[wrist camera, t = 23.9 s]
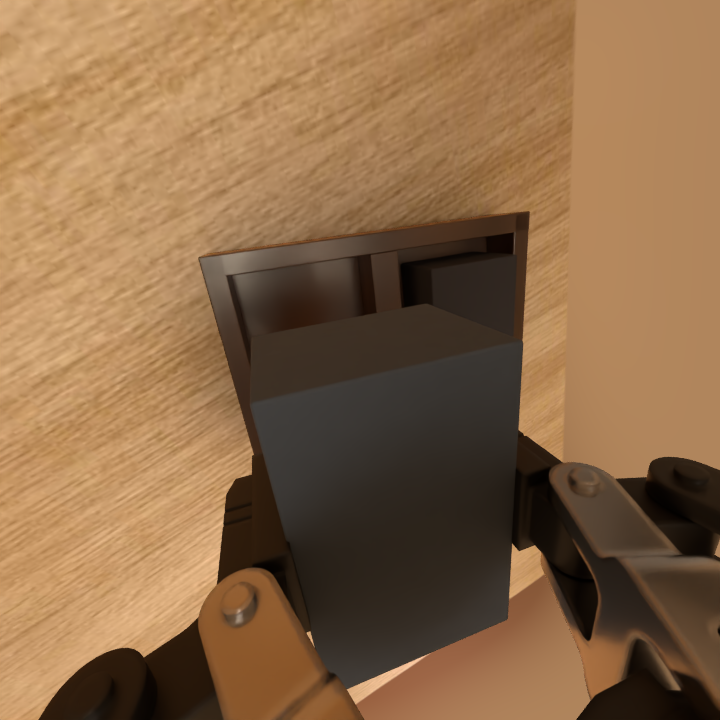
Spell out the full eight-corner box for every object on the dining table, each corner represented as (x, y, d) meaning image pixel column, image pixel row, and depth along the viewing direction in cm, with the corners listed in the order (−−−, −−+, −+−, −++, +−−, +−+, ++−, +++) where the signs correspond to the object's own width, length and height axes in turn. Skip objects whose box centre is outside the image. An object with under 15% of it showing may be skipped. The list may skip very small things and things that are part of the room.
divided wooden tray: (491, 214, 22) (530, 211, 19) (488, 381, 27) (519, 401, 24) (207, 253, 19) (197, 257, 15) (258, 440, 23) (259, 473, 20)
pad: (427, 302, 10) (525, 340, 6) (437, 513, 13) (508, 620, 9) (250, 336, 9) (248, 404, 5) (305, 557, 12) (328, 698, 8)
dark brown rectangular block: (474, 251, 22) (517, 254, 18) (474, 367, 25) (511, 389, 21) (400, 263, 21) (431, 269, 17) (409, 383, 24) (437, 409, 20)
